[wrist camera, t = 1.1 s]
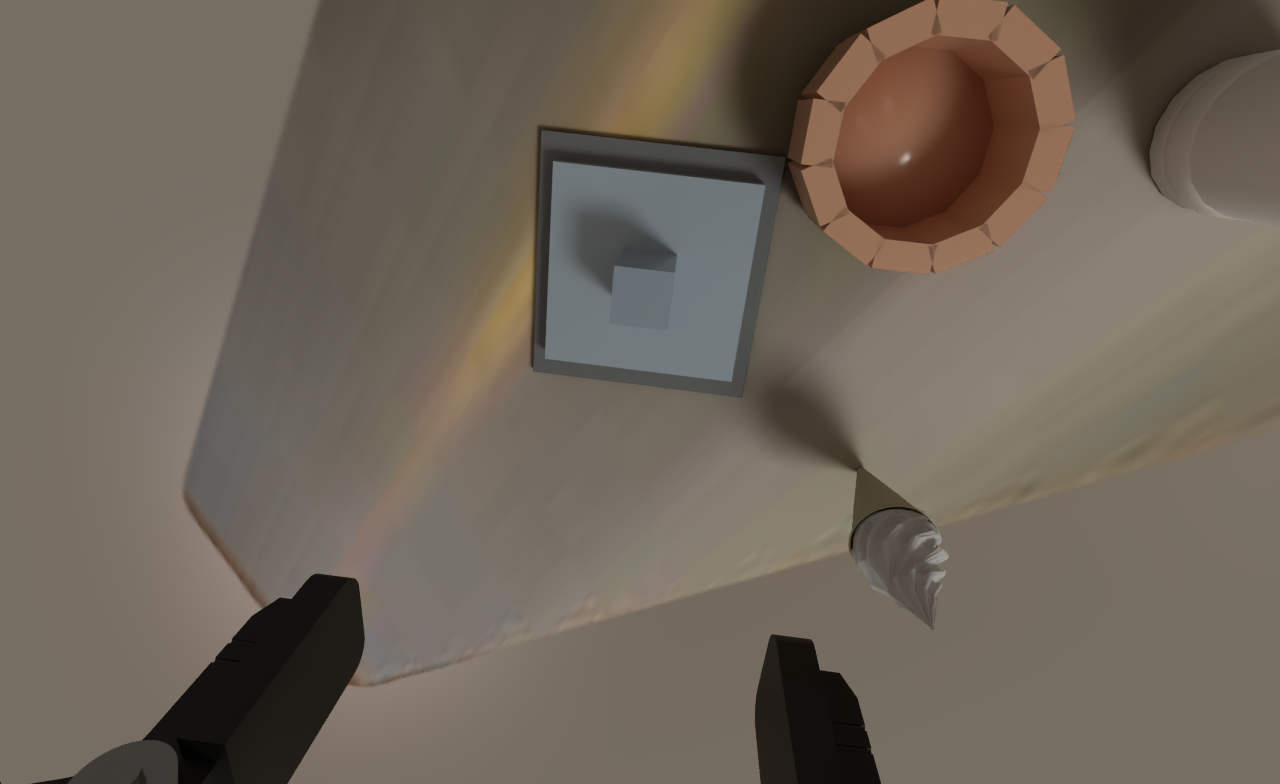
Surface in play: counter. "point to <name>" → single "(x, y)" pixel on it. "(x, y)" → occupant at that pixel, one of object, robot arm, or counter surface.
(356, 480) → the counter surface
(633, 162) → the mat
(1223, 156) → the bottle
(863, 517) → the ice cream cone
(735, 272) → the lid
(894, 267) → the bowl
